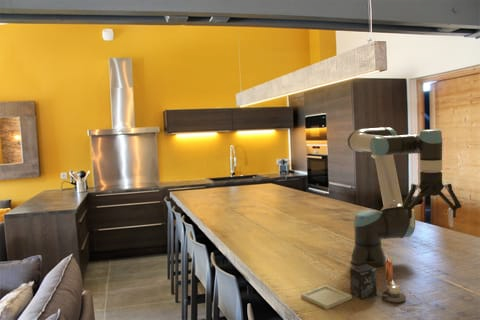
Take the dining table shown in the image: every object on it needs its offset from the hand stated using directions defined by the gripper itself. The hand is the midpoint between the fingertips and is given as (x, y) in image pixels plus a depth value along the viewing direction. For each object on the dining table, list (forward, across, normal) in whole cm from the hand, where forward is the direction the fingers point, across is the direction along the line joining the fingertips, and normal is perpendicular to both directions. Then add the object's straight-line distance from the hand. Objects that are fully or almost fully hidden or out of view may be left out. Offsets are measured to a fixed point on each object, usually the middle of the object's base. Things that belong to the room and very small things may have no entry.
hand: (431, 226), depth 153 cm
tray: (+24, +40, +13) cm, 48 cm away
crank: (+22, +16, +8) cm, 28 cm away
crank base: (+24, +16, +12) cm, 31 cm away
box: (+24, +26, +10) cm, 37 cm away
